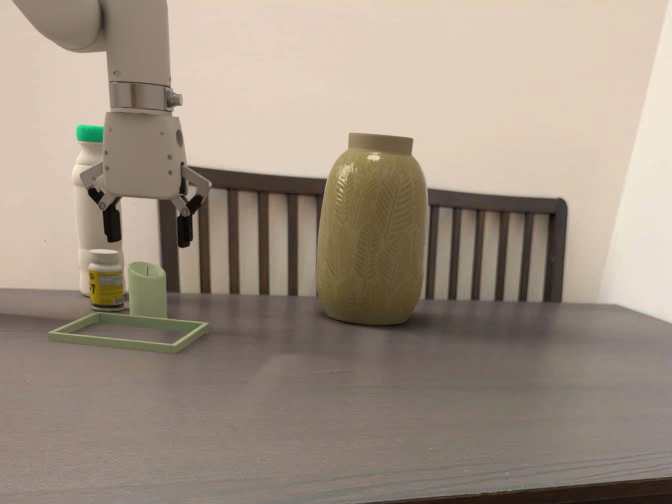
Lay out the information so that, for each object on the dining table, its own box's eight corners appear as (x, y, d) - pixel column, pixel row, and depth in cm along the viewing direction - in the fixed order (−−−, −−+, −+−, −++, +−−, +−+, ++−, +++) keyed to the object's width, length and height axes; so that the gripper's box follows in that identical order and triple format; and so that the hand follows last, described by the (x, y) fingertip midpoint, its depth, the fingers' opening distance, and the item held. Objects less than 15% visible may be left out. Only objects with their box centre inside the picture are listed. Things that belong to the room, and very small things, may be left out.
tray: (49, 353, 85) (46, 332, 84) (97, 330, 97) (96, 311, 96) (176, 367, 84) (175, 345, 83) (209, 341, 96) (209, 322, 95)
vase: (294, 316, 115) (301, 127, 104) (343, 302, 129) (354, 135, 118) (393, 334, 109) (412, 135, 98) (434, 317, 123) (454, 142, 112)
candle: (174, 326, 103) (172, 266, 99) (141, 329, 99) (139, 267, 96) (155, 319, 106) (153, 260, 102) (123, 322, 102) (120, 261, 99)
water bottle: (81, 290, 121) (68, 123, 111) (125, 291, 123) (117, 127, 113) (79, 298, 115) (66, 122, 105) (126, 299, 117) (117, 127, 107)
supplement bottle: (90, 305, 111) (86, 248, 107) (123, 305, 112) (119, 249, 109) (91, 312, 107) (87, 252, 103) (125, 312, 108) (122, 253, 105)
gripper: (217, 108, 94) (219, 246, 101) (87, 100, 95) (99, 237, 102) (199, 104, 87) (203, 252, 94) (60, 95, 88) (74, 242, 95)
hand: (149, 244), depth 98 cm, fingers open, 9 cm apart
